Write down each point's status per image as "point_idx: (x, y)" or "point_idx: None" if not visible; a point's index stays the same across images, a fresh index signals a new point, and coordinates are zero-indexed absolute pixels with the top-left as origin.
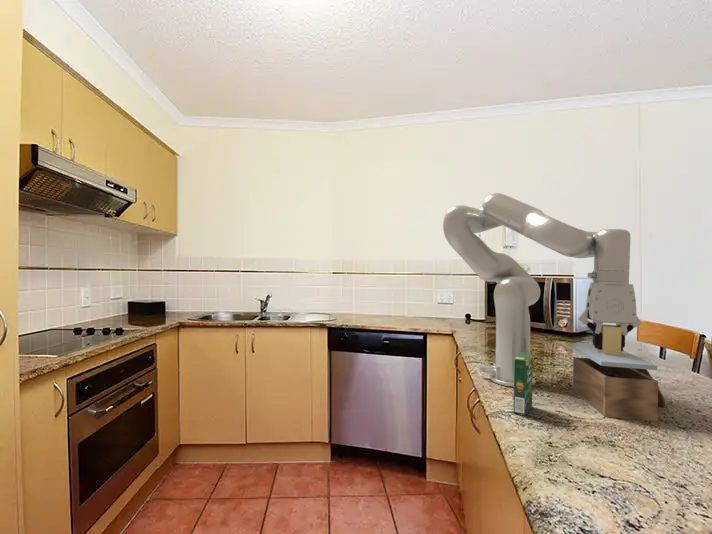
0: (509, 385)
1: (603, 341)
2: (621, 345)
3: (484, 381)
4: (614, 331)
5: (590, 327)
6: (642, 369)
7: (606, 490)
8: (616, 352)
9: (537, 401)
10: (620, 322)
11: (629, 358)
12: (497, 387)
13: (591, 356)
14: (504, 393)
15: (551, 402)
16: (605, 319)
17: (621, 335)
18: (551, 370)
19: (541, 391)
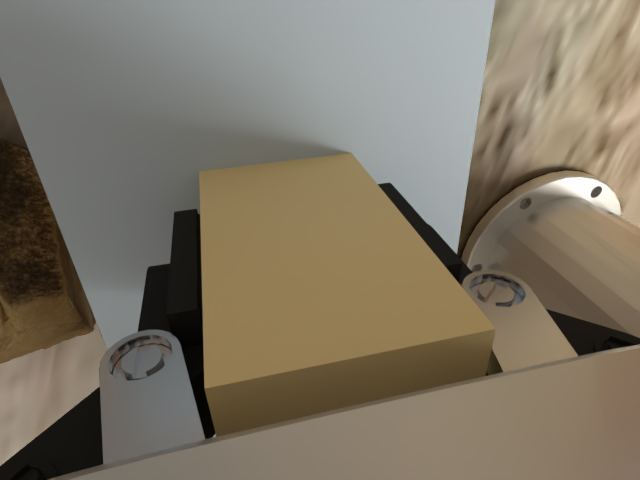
0: (582, 172)
1: (394, 205)
2: (191, 233)
3: (634, 207)
4: (309, 308)
5: (594, 330)
6: (17, 272)
7: None
8: (239, 176)
9: (552, 3)
10: (266, 426)
11: (146, 48)
12: (623, 149)
13: (487, 22)
14: (635, 74)
15: (497, 10)
16: (619, 394)
17: (194, 313)
18: None
19: (474, 164)
